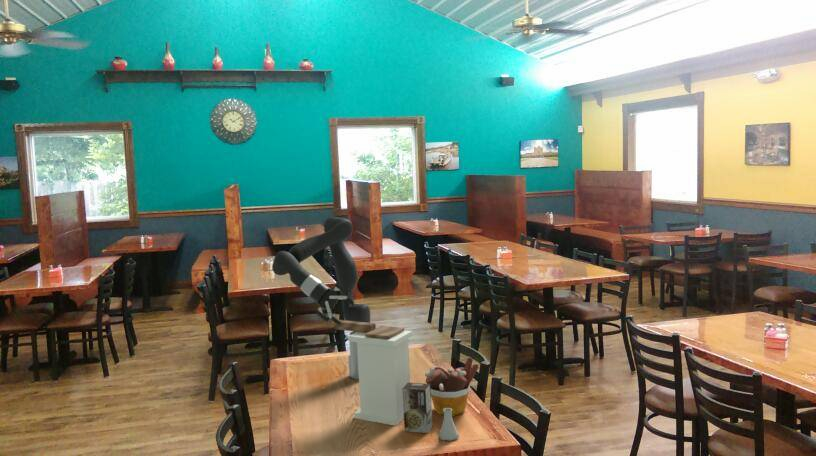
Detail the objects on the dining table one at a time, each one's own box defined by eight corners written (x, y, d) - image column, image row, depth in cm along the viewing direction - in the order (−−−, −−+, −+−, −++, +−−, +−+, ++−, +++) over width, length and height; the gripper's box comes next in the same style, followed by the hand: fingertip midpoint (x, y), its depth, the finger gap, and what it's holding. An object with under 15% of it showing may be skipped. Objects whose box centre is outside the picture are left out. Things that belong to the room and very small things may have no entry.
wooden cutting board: (327, 332, 252) (327, 324, 251) (345, 324, 262) (344, 317, 262) (388, 338, 239) (388, 330, 238) (404, 330, 249) (404, 322, 249)
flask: (437, 433, 232) (436, 406, 231) (457, 432, 233) (456, 404, 232) (439, 442, 225) (438, 414, 224) (460, 440, 226) (459, 412, 225)
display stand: (352, 417, 250) (347, 335, 246) (371, 404, 262) (367, 326, 258) (397, 426, 240) (393, 341, 236) (415, 412, 252) (412, 331, 249)
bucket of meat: (433, 422, 242) (431, 370, 240) (420, 406, 258) (418, 357, 256) (483, 414, 247) (482, 363, 245) (468, 399, 263) (466, 351, 261)
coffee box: (433, 426, 239) (431, 383, 237) (427, 433, 233) (426, 389, 231) (409, 424, 242) (407, 381, 240) (403, 431, 236) (401, 387, 234)
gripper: (327, 275, 260) (359, 300, 258) (305, 303, 258) (337, 329, 256) (324, 273, 252) (357, 299, 250) (301, 302, 250) (334, 329, 249)
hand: (347, 314), depth 253 cm, fingers open, 8 cm apart
